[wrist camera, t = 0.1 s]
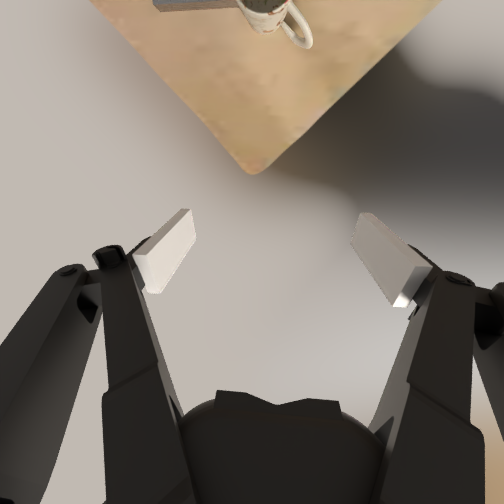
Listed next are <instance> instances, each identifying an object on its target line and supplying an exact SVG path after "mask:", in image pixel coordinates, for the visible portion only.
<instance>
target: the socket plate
mask: <svg viewBox="0 0 504 504" xmlns="http://www.w3.org/2000/svg"><path fill="white" fill-rule="evenodd" d="M153 5H154V6H155V7H156V8H157V9H158V10H159V11H160V12H166V11H183V10H199V9H216V8H233V7H239V5H238V3H237V2H236V0H153Z"/></svg>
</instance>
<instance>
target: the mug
mask: <svg viewBox="0 0 504 504" xmlns="http://www.w3.org/2000/svg"><path fill="white" fill-rule="evenodd" d="M236 2H237V3H238V5H239V7H240V8H241V10H242V12H243V14H244V15H245V17H246V19H247V20H248V22H249V24H250V25H251V27H252V28H253V29H254V30H255V31H256V32H257V33H259V34H262V35H268V34H271V33H273V32H275V31H276V30H277V29H278V28H279V27H280V26H282V28H283V29H284V31H285V32H286V34H287V35H288V36H289V38H290V39H291V40H292V42H293V43H295V44H296V45H298V46H300V47H302V48H305V49H309V48H311V47H312V44H313V37H312V33H311V30H310V27H309V25H308V23H307V21H306V19H305V18H304V16H303V15H302V14H301V12H300V11H299V10H298V8H297V7H296V6H295V4H294V3H293V2H292V0H236ZM287 12H289V13H290V14H291V15H292V17H293V18H294V19H295V20H296V22H297V23H298V24H299V26H300V28H301V30H302V32H303V34H304V37H305V38H301V37H299V36H298V35H297V34H296V33H295V32H294V31H293V30H292V29H291V28H290V27H289V26H288V25H287V24H286V23H285V22H284V18H285V16H286V14H287Z"/></svg>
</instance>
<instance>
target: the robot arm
mask: <svg viewBox="0 0 504 504" xmlns="http://www.w3.org/2000/svg"><path fill="white" fill-rule="evenodd" d="M195 241H196V234H195V229H194V224H193V218H192V213H191V209H181V210H180V211H179V212H178V213H177V214H175V215H174V216H173V217H172V218H171V219H170V220H169V221H168V222H167V223H166V224H165V225H164V226H162V227H161V228H160V229H159V230H158V231H157V232H156V233H155V234H154V235H153V236H150V237H148V238H146V239H144V240H142V241H141V242H140V243H139V244H138V245H137V246H136V247H135V248H134V249H132V250H131V251H130V252H129V253H128V254H127V255H125V253H124V250H123V248H122V247H121V246H119V245H110V246H106V247H103V248H100V249H98V250H96V251H95V252H94V253H93V254H92V257H93V259H94V260H95V262H96V264H97V266H98V268H99V269H97V270H90V271H87V270H86V268H85V267H84V266H83V265H82V264H73V265H67V266H65V267H62V268H60V269H59V270H57V271H55V272H54V273H53V274H52V276H51V277H50V278H49V280H48V281H47V282H46V284H45V285H44V286H43V288H42V289H41V291H40V292H39V293H38V295H37V296H36V297H35V299H34V300H33V301H32V303H31V304H30V306H29V307H28V308H27V310H26V311H25V312H24V314H23V315H22V316H21V318H20V319H19V321H18V322H17V323H16V325H15V326H14V327H13V329H12V330H11V332H10V333H9V334H8V336H7V337H6V339H5V340H4V341H3V342H2V344H1V345H0V504H40V502H41V499H42V497H43V495H44V492H45V490H46V488H47V485H48V483H49V480H50V477H51V474H52V471H53V468H54V466H55V463H56V460H57V457H58V453H59V450H60V447H61V443H62V441H63V437H64V434H65V431H66V428H67V424H68V421H69V418H70V414H71V412H72V408H73V405H74V402H75V399H76V396H77V392H78V389H79V386H80V382H81V379H82V376H83V373H84V370H85V366H86V363H87V360H88V357H89V353H90V350H91V347H92V344H93V341H94V338H95V334H96V331H97V328H98V325H99V321H100V318H101V315H102V312H103V321H104V335H105V347H106V359H107V370H108V384H109V389H108V391H107V392H106V393H104V394H103V396H102V424H103V443H104V462H105V463H104V464H105V484H106V501H105V502H104V503H103V504H485V443H484V437H483V434H482V432H481V431H480V429H478V428H477V427H475V426H474V425H472V424H471V423H470V408H471V385H472V363H473V362H472V361H473V356H474V359H475V361H476V364H477V367H478V370H479V373H480V376H481V379H482V381H483V384H484V387H485V390H486V393H487V395H488V398H489V401H490V404H491V407H492V409H493V413H494V415H495V418H496V421H497V424H498V427H499V429H500V432H501V435H502V438H503V441H504V282H501V283H498V284H496V285H495V287H494V288H493V289H492V290H490V289H486V288H481V287H476V286H475V283H474V282H472V281H471V280H470V279H468V278H467V277H465V276H463V275H460V274H458V273H454V272H450V271H443V270H442V269H440V268H439V267H438V266H437V265H436V264H435V263H433V262H432V261H431V260H430V259H428V258H427V257H426V256H425V255H423V253H421V252H420V251H419V250H418V249H416V248H414V247H412V246H411V245H409V244H406V243H405V242H404V241H403V240H401V239H400V238H399V237H398V236H397V235H396V234H395V233H393V232H392V231H391V230H390V229H389V228H388V227H386V226H385V225H384V224H383V223H382V222H381V221H380V220H378V219H377V218H376V217H375V216H374V215H373V214H372V213H360V216H359V219H358V222H357V225H356V228H355V231H354V235H353V238H352V241H351V246H352V247H353V249H354V250H355V252H356V253H357V255H358V256H359V258H360V259H361V261H362V262H363V263H364V265H365V266H366V268H367V269H368V271H369V272H370V274H371V275H372V277H373V278H374V280H375V281H376V283H377V284H378V286H379V287H380V289H381V290H382V292H383V293H384V295H385V296H386V298H387V299H388V301H389V302H390V303H391V305H392V307H393V306H394V307H408V305H409V304H410V302H411V301H412V299H413V300H414V301H415V302H416V304H417V306H416V307H415V309H414V310H413V312H412V313H411V315H410V316H409V318H408V320H410V322H409V325H408V327H407V330H406V333H405V335H404V338H403V341H402V343H401V346H400V349H399V351H398V354H397V357H396V359H395V362H394V365H393V367H392V370H391V373H390V375H389V378H388V381H387V384H386V386H385V389H384V392H383V394H382V397H381V400H380V402H379V405H378V408H377V410H376V413H375V415H374V418H373V420H372V421H371V423H370V425H369V427H368V428H367V427H366V426H364V425H363V424H362V423H361V422H359V421H358V420H356V419H355V418H353V417H352V416H350V415H348V414H346V413H344V412H341V409H340V405H339V401H332V400H322V399H311V398H307V399H302V400H298V401H293V402H289V403H285V404H281V405H275V404H272V403H270V402H267V401H265V400H262V399H260V398H258V397H255V396H253V395H250V394H248V393H244V392H233V391H223V390H217V392H216V397H215V399H213V400H209V401H207V402H204V403H202V404H200V405H198V406H196V407H195V408H193V409H192V410H190V411H189V412H188V413H187V414H185V415H184V414H183V411H182V409H181V406H180V403H179V401H178V398H177V396H176V393H175V390H174V386H173V384H172V380H171V378H170V374H169V372H168V369H167V365H166V362H165V359H164V356H163V353H162V350H161V347H160V345H159V342H158V338H157V335H156V332H155V329H154V326H153V323H152V320H151V317H150V314H149V312H148V308H147V306H146V302H145V299H144V296H143V293H142V291H141V290H142V289H143V288H144V286H146V289H147V291H148V293H158V294H160V293H161V292H162V291H163V289H164V287H165V286H166V285H167V283H168V282H169V280H170V278H171V277H172V275H173V274H174V272H175V271H176V269H177V268H178V266H179V265H180V263H181V262H182V260H183V259H184V257H185V256H186V254H187V253H188V251H189V250H190V248H191V247H192V245H193V244H194V242H195Z"/></svg>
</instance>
